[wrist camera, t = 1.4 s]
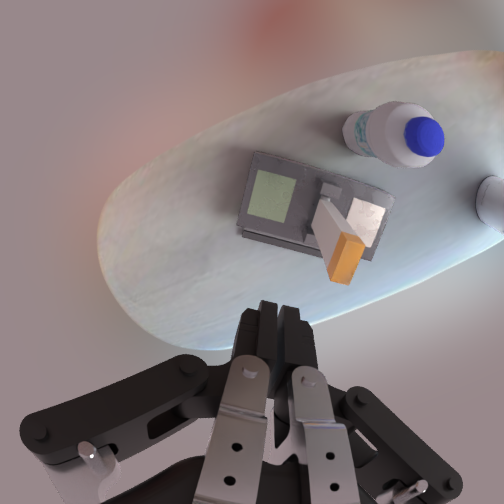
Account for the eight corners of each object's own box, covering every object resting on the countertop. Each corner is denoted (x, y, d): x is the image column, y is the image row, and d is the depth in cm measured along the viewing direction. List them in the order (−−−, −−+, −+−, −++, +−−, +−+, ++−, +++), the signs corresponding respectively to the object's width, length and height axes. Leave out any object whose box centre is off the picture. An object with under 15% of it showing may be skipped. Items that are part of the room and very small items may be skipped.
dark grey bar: (356, 252, 41) (358, 254, 41) (351, 263, 42) (353, 266, 41) (245, 222, 41) (245, 224, 40) (242, 234, 42) (241, 236, 41)
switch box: (385, 191, 37) (405, 203, 30) (363, 250, 41) (377, 271, 35) (256, 151, 37) (252, 153, 30) (240, 216, 41) (233, 233, 34)
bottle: (356, 165, 36) (424, 195, 18) (328, 127, 34) (380, 120, 16) (389, 140, 34) (475, 153, 16) (363, 102, 32) (437, 81, 14)
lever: (331, 197, 33) (367, 241, 20) (320, 228, 35) (346, 289, 22) (319, 193, 33) (348, 235, 20) (309, 225, 35) (328, 285, 21)
